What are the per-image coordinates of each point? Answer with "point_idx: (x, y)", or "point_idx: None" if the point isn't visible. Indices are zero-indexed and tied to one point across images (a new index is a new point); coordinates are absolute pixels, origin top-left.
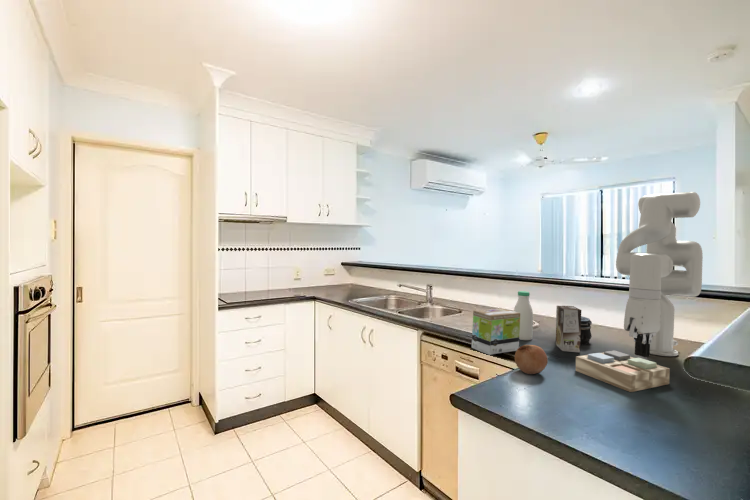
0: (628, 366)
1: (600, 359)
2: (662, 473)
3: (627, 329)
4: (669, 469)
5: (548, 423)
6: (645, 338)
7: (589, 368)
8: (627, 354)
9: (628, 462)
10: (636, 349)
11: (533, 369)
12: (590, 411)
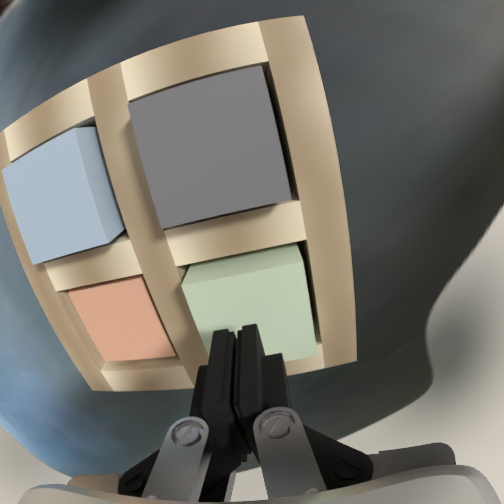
0: (158, 307)
1: (30, 249)
2: (50, 461)
3: (73, 496)
4: (58, 463)
5: None
6: (223, 500)
7: None
8: (280, 183)
9: (28, 445)
10: (196, 381)
11: None
12: (4, 379)
